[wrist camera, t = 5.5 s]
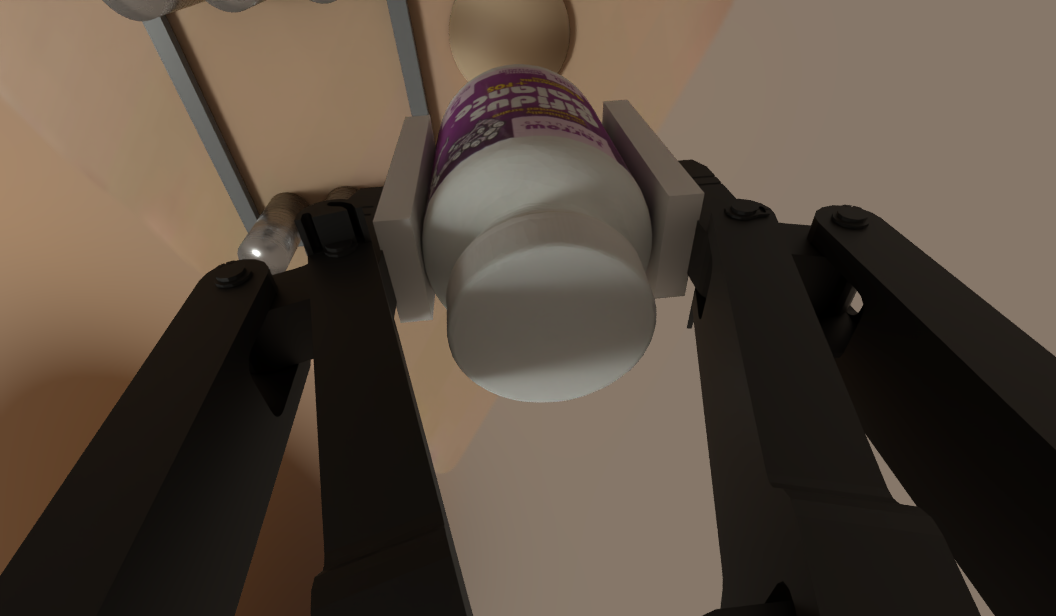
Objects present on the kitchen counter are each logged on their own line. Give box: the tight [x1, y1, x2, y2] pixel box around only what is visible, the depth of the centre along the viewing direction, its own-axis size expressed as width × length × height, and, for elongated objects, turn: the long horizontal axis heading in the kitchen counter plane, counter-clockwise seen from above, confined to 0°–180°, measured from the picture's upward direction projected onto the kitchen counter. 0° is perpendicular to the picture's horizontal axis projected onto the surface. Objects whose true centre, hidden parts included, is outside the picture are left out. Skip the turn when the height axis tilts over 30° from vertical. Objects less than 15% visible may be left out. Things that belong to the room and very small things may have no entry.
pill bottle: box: [422, 64, 656, 402], centre depth 13 cm, size 5×5×10 cm
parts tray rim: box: [142, 0, 436, 247], centre depth 30 cm, size 19×14×1 cm
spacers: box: [103, 0, 358, 275], centre depth 28 cm, size 17×11×6 cm, turn 4°
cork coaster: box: [449, 0, 570, 82], centre depth 29 cm, size 7×7×1 cm
